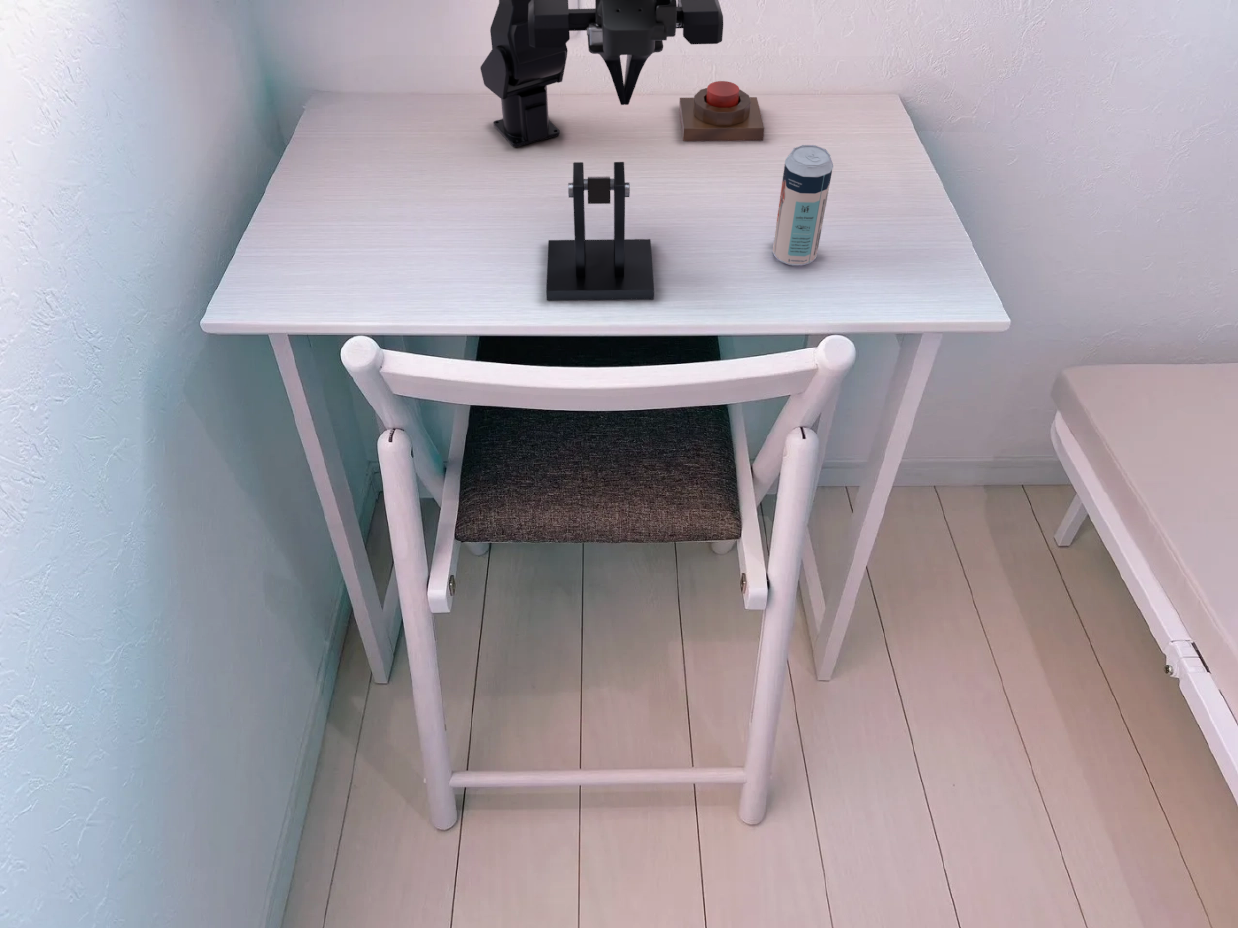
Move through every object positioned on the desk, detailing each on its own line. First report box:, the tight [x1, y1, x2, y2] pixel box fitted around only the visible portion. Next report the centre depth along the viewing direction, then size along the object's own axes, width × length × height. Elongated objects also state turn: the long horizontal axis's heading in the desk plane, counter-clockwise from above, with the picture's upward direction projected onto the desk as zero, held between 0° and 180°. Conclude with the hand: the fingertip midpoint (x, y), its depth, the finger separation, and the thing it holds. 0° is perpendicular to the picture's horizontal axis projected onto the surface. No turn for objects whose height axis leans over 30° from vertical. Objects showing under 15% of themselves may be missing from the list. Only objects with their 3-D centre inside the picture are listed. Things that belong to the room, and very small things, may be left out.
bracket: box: [545, 161, 655, 301], centre depth 99 cm, size 9×11×12 cm
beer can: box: [772, 144, 834, 267], centre depth 101 cm, size 5×5×12 cm
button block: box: [678, 87, 765, 142], centre depth 124 cm, size 10×8×4 cm
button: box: [706, 80, 740, 108], centre depth 122 cm, size 4×4×2 cm
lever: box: [584, 176, 614, 205], centre depth 100 cm, size 11×5×2 cm, turn 1°
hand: (624, 103), depth 102 cm, fingers closed
